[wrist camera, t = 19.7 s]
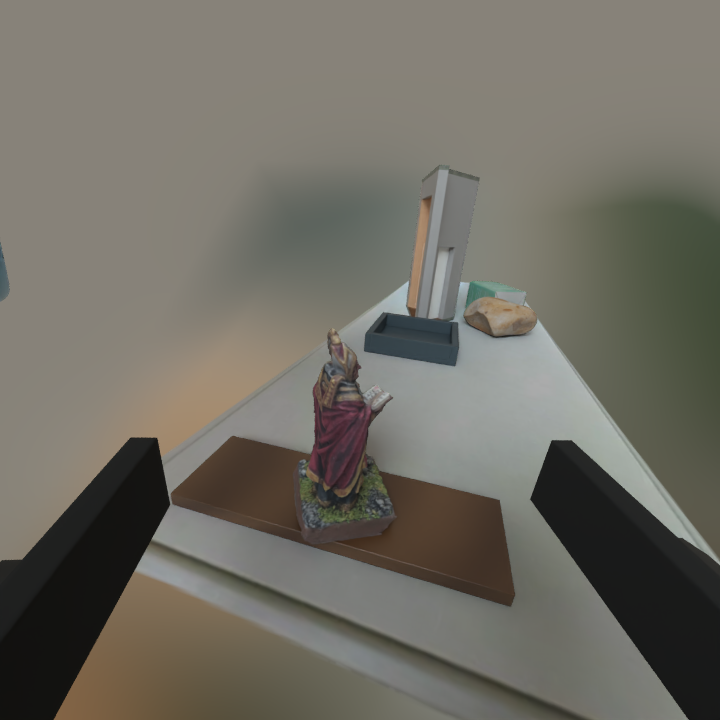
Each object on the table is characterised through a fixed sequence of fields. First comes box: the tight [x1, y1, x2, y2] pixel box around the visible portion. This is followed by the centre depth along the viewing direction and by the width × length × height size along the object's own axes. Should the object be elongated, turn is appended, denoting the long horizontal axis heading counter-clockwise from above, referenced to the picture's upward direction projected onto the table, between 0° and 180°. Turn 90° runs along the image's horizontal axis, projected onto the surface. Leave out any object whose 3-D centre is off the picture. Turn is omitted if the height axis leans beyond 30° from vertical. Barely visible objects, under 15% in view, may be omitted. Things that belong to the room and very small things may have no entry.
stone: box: [463, 297, 537, 337], centre depth 67 cm, size 14×11×8 cm
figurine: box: [293, 329, 397, 545], centre depth 21 cm, size 6×6×12 cm
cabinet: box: [406, 165, 479, 321], centre depth 68 cm, size 21×10×28 cm, turn 178°
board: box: [171, 436, 515, 606], centre depth 24 cm, size 22×7×1 cm, turn 75°
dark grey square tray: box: [364, 312, 459, 366], centre depth 57 cm, size 14×14×3 cm
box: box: [466, 281, 527, 308], centre depth 78 cm, size 7×14×8 cm, turn 6°
